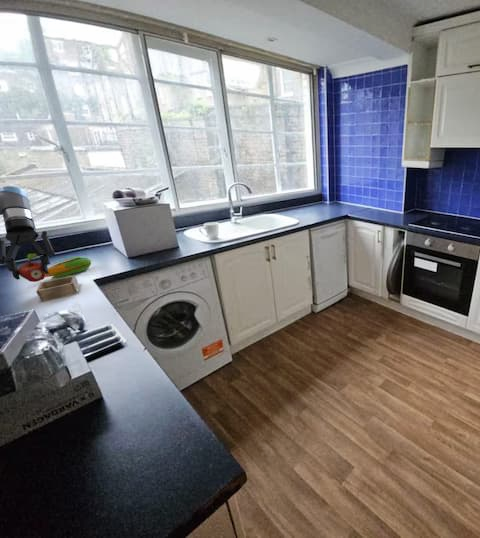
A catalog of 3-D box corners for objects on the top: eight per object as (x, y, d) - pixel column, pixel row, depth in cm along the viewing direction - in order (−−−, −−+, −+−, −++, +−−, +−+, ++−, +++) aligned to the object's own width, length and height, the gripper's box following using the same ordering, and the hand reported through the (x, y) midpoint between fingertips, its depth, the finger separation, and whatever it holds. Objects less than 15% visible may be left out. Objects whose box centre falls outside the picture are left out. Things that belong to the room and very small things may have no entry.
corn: (90, 254, 148) (37, 268, 132) (97, 268, 151) (45, 283, 134) (84, 253, 151) (31, 266, 135) (90, 266, 154) (39, 281, 138)
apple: (47, 281, 109) (35, 256, 105) (21, 286, 106) (7, 260, 102) (52, 274, 115) (41, 250, 111) (28, 279, 112) (15, 254, 108)
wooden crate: (41, 301, 119) (35, 291, 117) (45, 292, 127) (40, 282, 125) (77, 293, 125) (73, 283, 123) (79, 284, 133) (74, 275, 131)
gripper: (58, 224, 120) (71, 272, 115) (-14, 233, 109) (-4, 287, 104) (51, 213, 115) (64, 263, 109) (-26, 221, 103) (-16, 278, 98)
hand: (31, 274), depth 107 cm, fingers closed on apple, 7 cm apart
